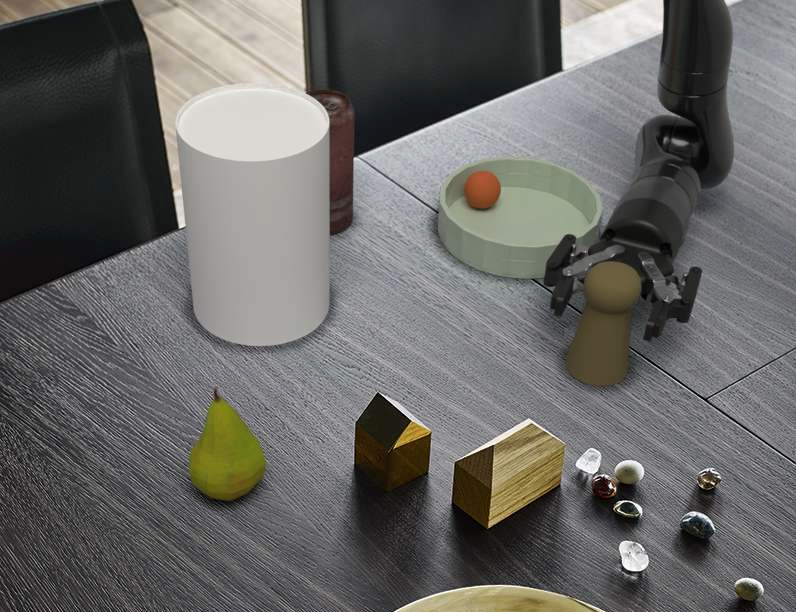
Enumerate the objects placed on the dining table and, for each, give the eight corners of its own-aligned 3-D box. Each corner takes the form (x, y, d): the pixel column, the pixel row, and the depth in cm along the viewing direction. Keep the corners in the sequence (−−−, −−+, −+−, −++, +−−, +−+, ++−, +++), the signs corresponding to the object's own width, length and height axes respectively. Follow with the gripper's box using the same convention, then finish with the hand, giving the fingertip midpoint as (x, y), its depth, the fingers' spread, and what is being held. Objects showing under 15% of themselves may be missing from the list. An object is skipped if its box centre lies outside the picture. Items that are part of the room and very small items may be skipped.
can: (290, 207, 137) (287, 88, 127) (347, 203, 138) (349, 85, 128) (297, 239, 133) (294, 118, 123) (356, 234, 134) (358, 115, 124)
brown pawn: (554, 352, 122) (570, 258, 114) (610, 340, 123) (629, 246, 115) (583, 391, 118) (601, 297, 110) (639, 378, 119) (661, 284, 111)
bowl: (590, 192, 142) (595, 160, 139) (602, 283, 130) (608, 250, 127) (438, 184, 142) (440, 152, 139) (436, 274, 130) (439, 241, 127)
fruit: (258, 458, 110) (252, 351, 101) (272, 508, 106) (267, 401, 97) (185, 469, 109) (173, 362, 100) (196, 520, 104) (184, 413, 96)
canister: (179, 338, 121) (158, 153, 106) (209, 257, 130) (194, 76, 116) (318, 352, 120) (316, 168, 106) (338, 270, 130) (339, 90, 115)
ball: (498, 196, 139) (502, 164, 137) (499, 216, 137) (503, 184, 134) (462, 194, 139) (465, 162, 137) (462, 214, 137) (465, 182, 134)
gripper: (583, 180, 124) (533, 267, 114) (725, 214, 121) (687, 308, 110) (572, 243, 130) (524, 333, 119) (708, 278, 126) (670, 373, 116)
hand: (602, 321), depth 115 cm, fingers open, 8 cm apart
